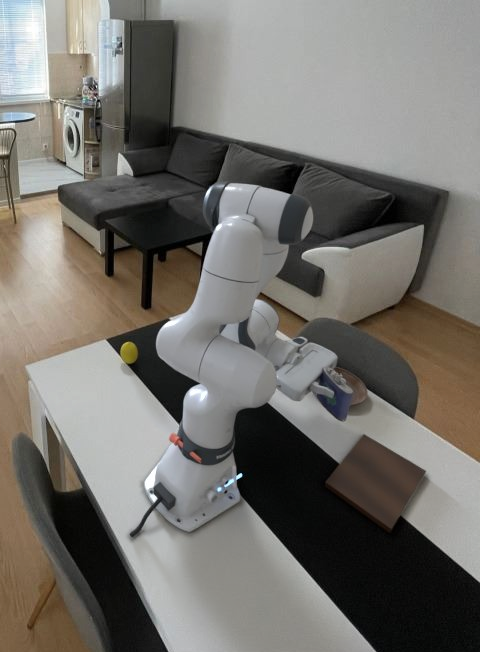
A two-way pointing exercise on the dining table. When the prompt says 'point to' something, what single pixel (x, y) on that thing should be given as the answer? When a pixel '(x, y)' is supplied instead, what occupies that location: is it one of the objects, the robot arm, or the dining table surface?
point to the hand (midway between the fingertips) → (339, 389)
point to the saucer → (354, 386)
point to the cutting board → (376, 482)
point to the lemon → (129, 352)
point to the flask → (342, 397)
